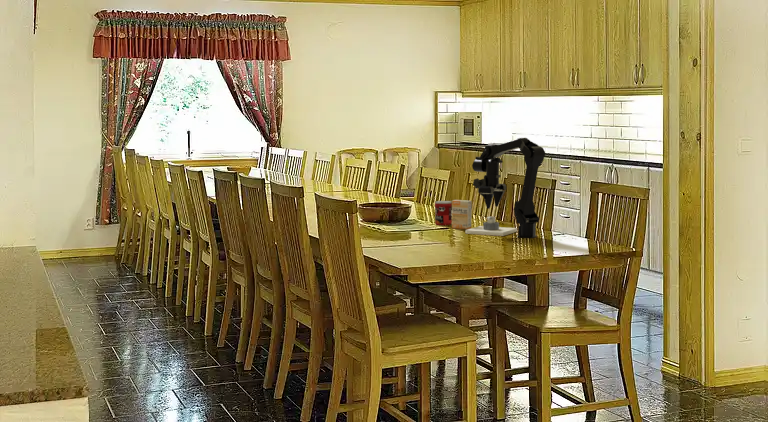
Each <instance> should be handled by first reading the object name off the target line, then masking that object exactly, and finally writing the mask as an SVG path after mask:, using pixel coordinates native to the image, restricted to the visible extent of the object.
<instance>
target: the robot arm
mask: <svg viewBox="0 0 768 422" xmlns="http://www.w3.org/2000/svg"><path fill="white" fill-rule="evenodd" d="M518 149H519V151H520V153H521V154H522V155H523V157H524V159H523V160H524V164H525V166H526V168H525V172H524V173H525V174H524V179H523V185H522V189H521V190H522V191H521V196H520V199H519V200H515V202H514V208H513V211H514V216H515V221H516V224H519V225H518V228H517V232H518V235H517V238H522V239H523V238H524V239H534V238H536V237H538V235H536V234H537V233H536V232H537V230H536V226H537V225H536V223H537V224H538V223H539V221H540V217H539V216H538V215H537V213H536V211H535V204H534V201H533V199H534V193H535V187H536V182H537V177H538V176H537V175H538V172H539V167H540V166H541V165H542V164H543V162H544V159H545V156H546V151H545V149H544V148H543V147H542V146H540V145H539V144H538V143H535V142H533V141H531V140H530V139H529V138H527V137H518V138H516V139H513V140H509V141H506V142H502V143H500V144H499V143H497V144H486V145H485V146H484V149H483V150H482V152H481V155H480V156H475V159H474V160H473V162H472V164H471V167H472V170H473V171H474V172H477V173H485V174H484V175H483V178H482V179H479V178H475V179H473V182H472V186H474V188H475V190H476V189H477V193H478V194H479V195H481V196H482V197H483V199H484V203H485V205H486V209H489V210H490V208H491V206H492V202H493V200H494V206H495V207H499V204H500V203H501V200H502V198H503V196H504V194H505V192H506V191H507V185H506V184H505V183H500V178H501V176H502V175H501V174H500V164H502V163H503V160H502V159H501V158H500V157H501V156H503V155H504V154H505V153H507V152H510V151H514V150H518Z"/></svg>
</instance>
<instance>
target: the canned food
mask: <svg viewBox="0 0 768 422" xmlns="http://www.w3.org/2000/svg"><path fill="white" fill-rule="evenodd" d="M434 223H435V226H450V225H451V226H452V200H437V201H435V203H434Z"/></svg>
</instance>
